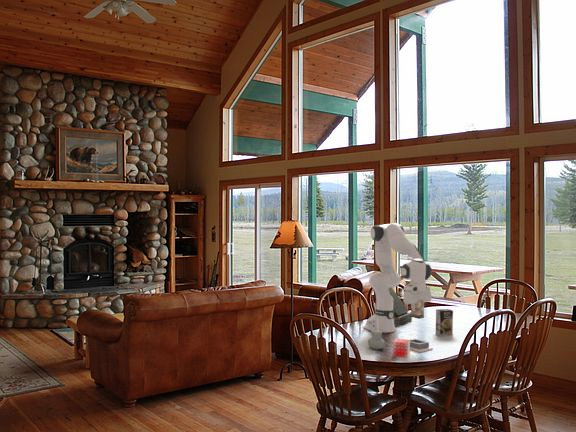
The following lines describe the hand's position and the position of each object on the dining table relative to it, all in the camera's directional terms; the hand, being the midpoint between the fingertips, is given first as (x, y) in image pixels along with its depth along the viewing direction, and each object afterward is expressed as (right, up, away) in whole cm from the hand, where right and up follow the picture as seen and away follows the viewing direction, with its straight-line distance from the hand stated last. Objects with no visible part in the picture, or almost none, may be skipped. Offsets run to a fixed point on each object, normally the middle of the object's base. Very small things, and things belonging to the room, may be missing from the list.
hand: (417, 310), depth 317 cm
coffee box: (+26, -22, +36) cm, 50 cm away
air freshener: (-24, -22, -1) cm, 33 cm away
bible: (0, -22, +75) cm, 78 cm away
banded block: (0, -4, 0) cm, 4 cm away
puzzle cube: (-12, -22, -14) cm, 29 cm away
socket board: (0, -22, 0) cm, 22 cm away
